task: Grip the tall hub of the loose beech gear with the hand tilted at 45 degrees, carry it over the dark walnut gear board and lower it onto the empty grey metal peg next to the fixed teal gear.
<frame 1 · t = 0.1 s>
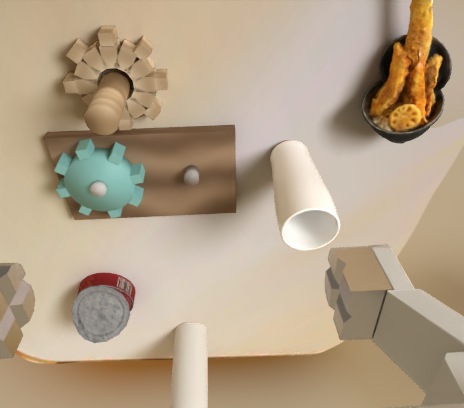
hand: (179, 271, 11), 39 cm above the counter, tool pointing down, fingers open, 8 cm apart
loose gear: (119, 76, 47), on the counter
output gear: (103, 174, 54), resting on gear board
fried shrimp in bowl: (397, 57, 47), on the counter
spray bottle: (191, 329, 83), on the counter
canned food: (108, 288, 73), on the counter
gear board: (149, 172, 56), on the counter
drinking glass: (288, 153, 55), on the counter
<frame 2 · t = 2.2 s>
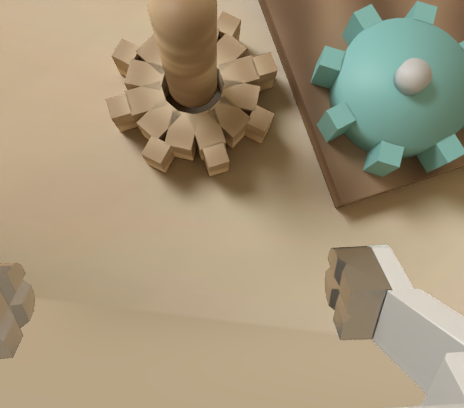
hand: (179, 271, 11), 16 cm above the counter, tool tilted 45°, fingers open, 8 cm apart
loose gear: (194, 100, 29), on the counter
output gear: (391, 97, 28), resting on gear board
gear board: (365, 31, 30), on the counter
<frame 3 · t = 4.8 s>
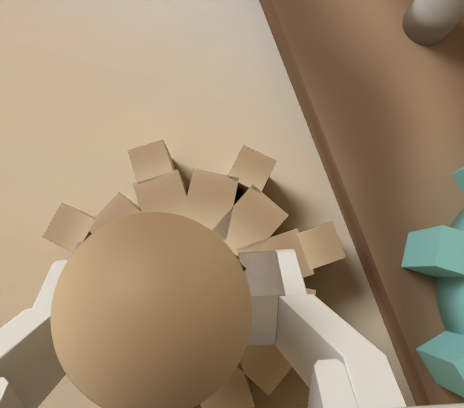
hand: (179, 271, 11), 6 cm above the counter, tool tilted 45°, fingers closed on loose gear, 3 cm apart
loose gear: (195, 287, 17), on the counter, touching gripper
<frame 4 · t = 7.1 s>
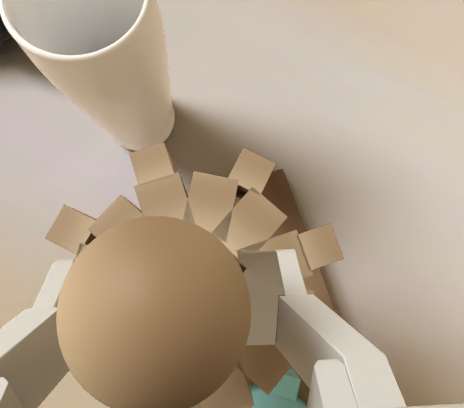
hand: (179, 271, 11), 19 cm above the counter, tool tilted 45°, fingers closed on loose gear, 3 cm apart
loose gear: (196, 288, 17), point 13 cm above the counter, touching gripper
gear board: (245, 354, 29), on the counter
drinking glass: (142, 122, 32), on the counter
when the fingers open (9 cm above the counter, at t = 9.2 s): loose gear drops 1 cm, resting on gear board.
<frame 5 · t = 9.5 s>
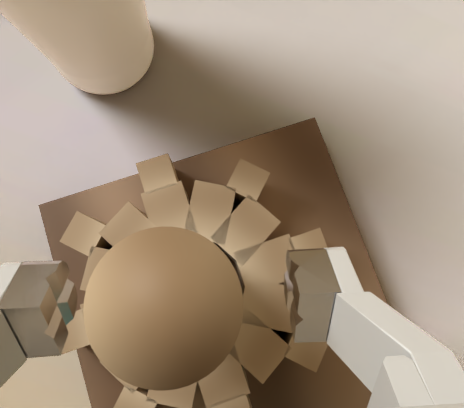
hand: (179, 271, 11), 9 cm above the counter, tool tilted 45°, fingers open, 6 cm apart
loose gear: (197, 287, 18), point 1 cm above the counter, touching gear board
gear board: (259, 400, 19), on the counter
drinking glass: (108, 55, 22), on the counter
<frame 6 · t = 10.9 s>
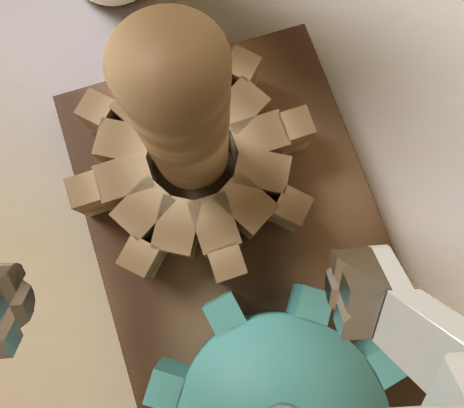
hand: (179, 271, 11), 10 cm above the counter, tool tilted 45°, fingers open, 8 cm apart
loose gear: (196, 169, 20), point 1 cm above the counter, touching gear board
gear board: (251, 275, 21), on the counter
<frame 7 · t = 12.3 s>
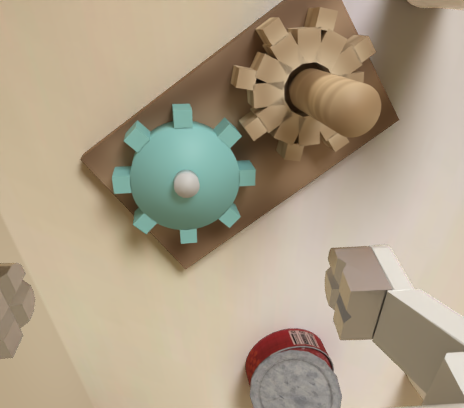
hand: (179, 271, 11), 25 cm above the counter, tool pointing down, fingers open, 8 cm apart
loose gear: (299, 85, 33), point 1 cm above the counter, touching gear board
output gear: (184, 171, 34), resting on gear board
canned food: (284, 358, 48), on the counter
gear board: (243, 134, 35), on the counter
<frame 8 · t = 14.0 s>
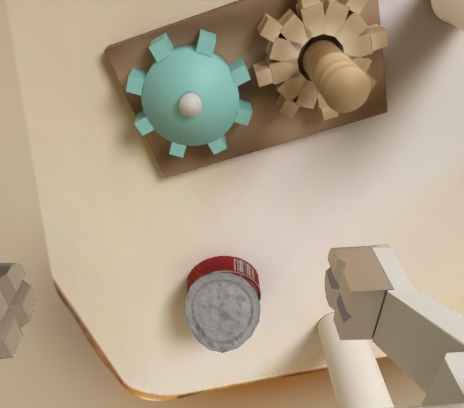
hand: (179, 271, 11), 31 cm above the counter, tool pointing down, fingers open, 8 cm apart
loose gear: (314, 51, 36), point 1 cm above the counter, touching gear board
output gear: (191, 92, 38), resting on gear board
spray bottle: (338, 323, 62), on the counter
canned food: (222, 280, 55), on the counter
gear board: (253, 78, 39), on the counter
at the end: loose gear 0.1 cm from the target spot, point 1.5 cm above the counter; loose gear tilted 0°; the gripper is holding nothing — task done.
